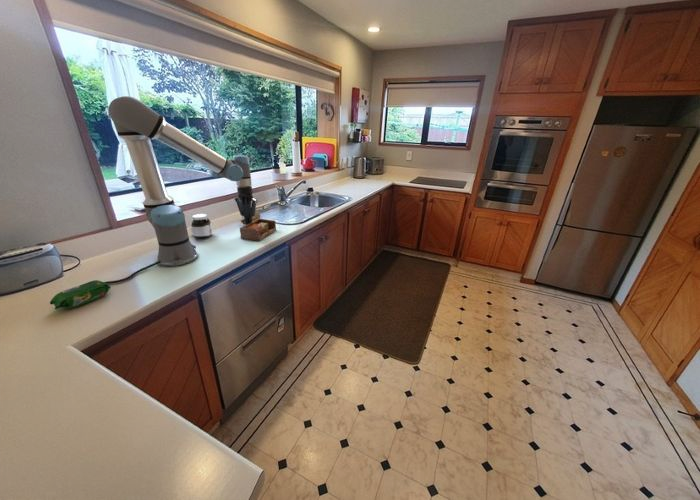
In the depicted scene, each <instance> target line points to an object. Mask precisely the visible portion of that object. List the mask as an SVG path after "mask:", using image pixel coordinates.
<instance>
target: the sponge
mask: <svg viewBox="0 0 700 500" xmlns="http://www.w3.org/2000/svg"><path fill="white" fill-rule="evenodd" d="M257 219H261V213H260V212H259V210H257V209H255V216H253V217H252V222H253V221H255V220H257ZM240 223H241V224H242V225H244V226H245V225H246V222H245V219H244V216H241V219H240Z"/></svg>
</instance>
